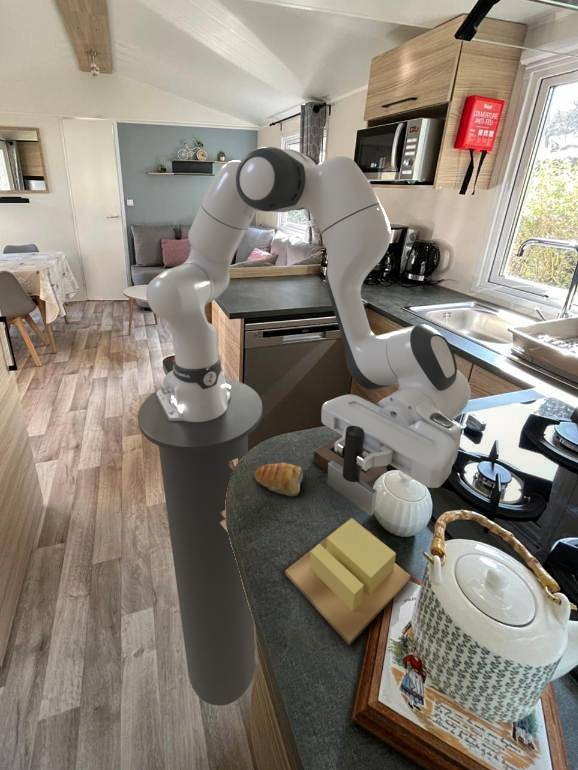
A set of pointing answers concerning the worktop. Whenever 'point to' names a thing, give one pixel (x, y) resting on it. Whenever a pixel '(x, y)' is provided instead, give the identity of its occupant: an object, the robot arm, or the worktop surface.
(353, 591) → the butter slice
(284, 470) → the pastry
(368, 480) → the knife stand
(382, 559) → the butter
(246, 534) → the worktop surface
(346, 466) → the knife
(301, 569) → the board
